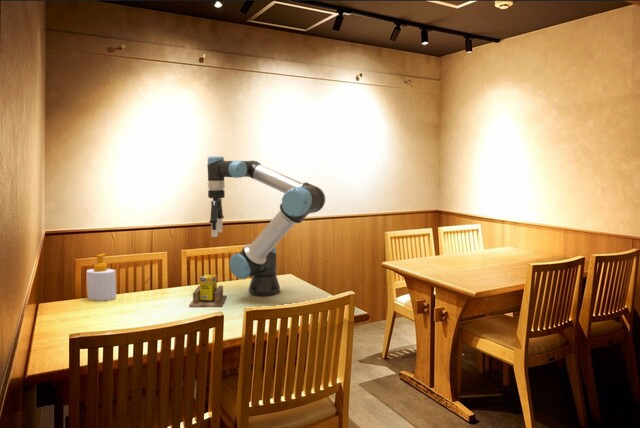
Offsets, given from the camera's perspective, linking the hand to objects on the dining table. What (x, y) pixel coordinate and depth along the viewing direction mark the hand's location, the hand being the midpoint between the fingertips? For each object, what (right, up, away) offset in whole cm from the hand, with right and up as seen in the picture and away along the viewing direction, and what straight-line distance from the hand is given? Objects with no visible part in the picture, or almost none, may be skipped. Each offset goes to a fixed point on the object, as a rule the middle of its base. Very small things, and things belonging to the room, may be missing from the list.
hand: (217, 234), depth 222 cm
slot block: (-2, -30, -11) cm, 32 cm away
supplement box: (-1, -29, -11) cm, 31 cm away
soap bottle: (-52, -29, -6) cm, 60 cm away
